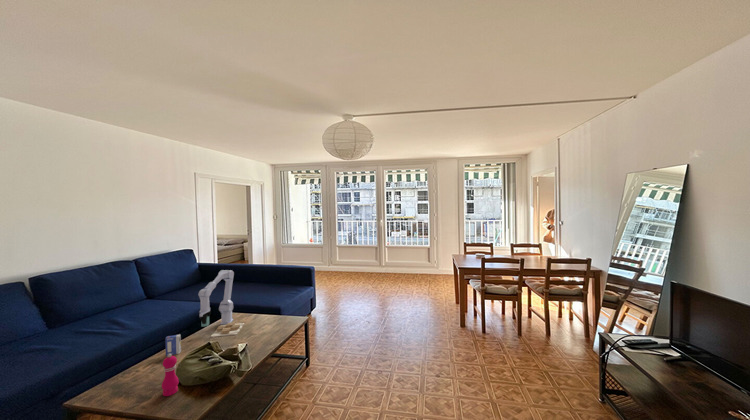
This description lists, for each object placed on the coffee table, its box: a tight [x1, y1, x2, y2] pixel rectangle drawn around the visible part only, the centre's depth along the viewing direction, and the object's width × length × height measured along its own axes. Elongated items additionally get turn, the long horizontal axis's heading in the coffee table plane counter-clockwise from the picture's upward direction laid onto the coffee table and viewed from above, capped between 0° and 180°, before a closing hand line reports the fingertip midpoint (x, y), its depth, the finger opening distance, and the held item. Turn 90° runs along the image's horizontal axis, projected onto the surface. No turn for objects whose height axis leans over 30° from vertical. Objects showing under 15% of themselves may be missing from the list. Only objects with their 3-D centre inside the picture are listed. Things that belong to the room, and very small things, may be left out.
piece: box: [200, 316, 210, 327], centre depth 211 cm, size 4×4×6 cm
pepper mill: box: [161, 354, 180, 397], centre depth 144 cm, size 7×7×20 cm
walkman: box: [164, 333, 182, 357], centre depth 183 cm, size 8×3×12 cm, turn 110°
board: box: [210, 321, 245, 338], centre depth 218 cm, size 20×18×3 cm
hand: (205, 322), depth 212 cm, fingers closed on piece, 4 cm apart
